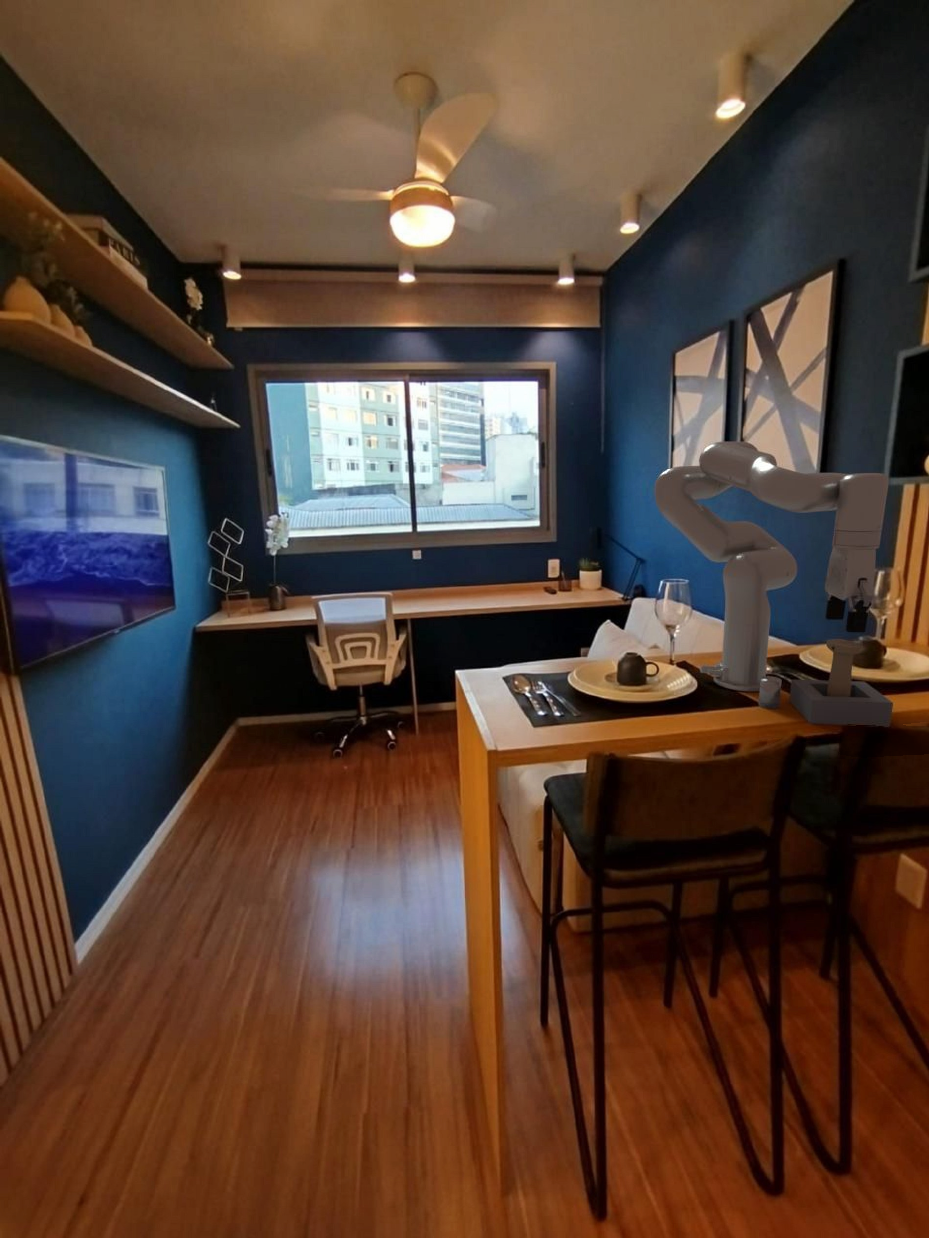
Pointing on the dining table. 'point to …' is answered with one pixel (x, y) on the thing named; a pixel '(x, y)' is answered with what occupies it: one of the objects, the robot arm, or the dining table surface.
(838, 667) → the handle
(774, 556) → the robot arm
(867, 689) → the block
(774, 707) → the short peg
